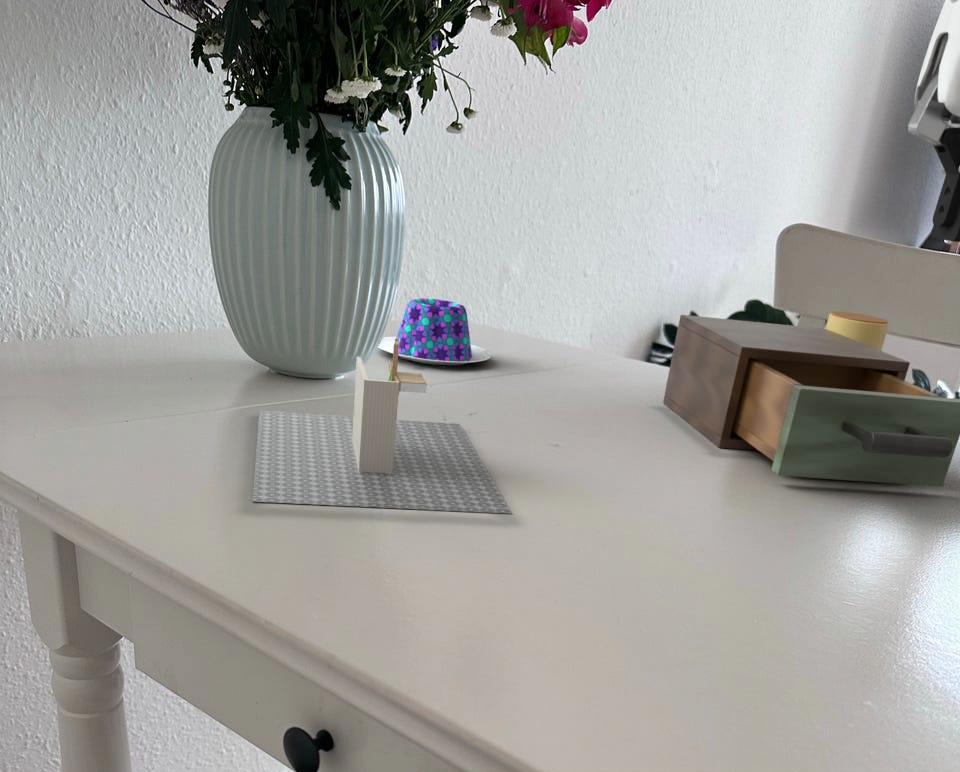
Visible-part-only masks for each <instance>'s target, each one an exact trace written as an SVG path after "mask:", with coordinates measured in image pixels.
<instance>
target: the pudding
mask: <svg viewBox="0 0 960 772" xmlns="http://www.w3.org/2000/svg"><path fill="white" fill-rule="evenodd" d="M382 338H383V339H382V341H381V343H380V344H379V346H378V347H377V348H378V349H380V350H383V351H384V352H387V353H390V354H392V355H393V349H394V344H395V338H397V339H398V343H399V352H398V358H401V359H405V360H408V361H411V362H415V363H422V364H428V365H429V364H430V365H437V366H438V365H439V366H461V365H466V364H473V363H480V362H484V361H487V360H489V359H491V358H492V356H493V355H492V353H491V352H490V351H488V350H487V349H485V348H483V347H480V346H477V345H474V344H471V336H470V328H469V320H468V312H467V310H466V307H465V306H464V305H463V304H461V303H457V302H454V301H450V300H444V299H443V300H442V299H439V298H423V297H422V298H421V297H420V298H413V299H411V300H409V301H408V303H407V304H406V306H405V310H404V312H403V315H402V319H401V323H400V325H399V329H398V331H397V334H396V335H394V336H385V337H382Z"/></svg>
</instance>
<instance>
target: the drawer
mask: <svg viewBox="0 0 960 772" xmlns="http://www.w3.org/2000/svg"><path fill="white" fill-rule="evenodd" d="M732 431H733V432H734V433H736V434H737V435H738V436H740V437H741V438H743V439H744V440H745V441H747V442H748V443H749V444H751V445H752V446H753V447H755V448H756V449H757V450H756V451H758V450H759V452H760V453H762V454H763V455H764V456H766V457H767V458H768V459H769V460H771V461H772V466H771V472H773V473H774V474H775V475H777V476H780V477H796V478H810V479H824V480H839V481H853V482H855V481H856V482H857V481H858V482H870V483H883V484H884V483H885V484H900V485H915V486H916V485H917V486H931V487H943V486H944V482H945V480H946V477H947V475H948V471H949V469H950V465H951V462H952V460H953V456H954V454H955V451H956V449H957V445H958V443H959V440H960V398H950V397H942V396H941V395H939V394H936V393H934V392H932V391H929V390H927V389H924V388H922V387H920V386H917V385H915V384H913V383H910V382H909V381H907V380H905V381H904V380H902V379H899V378H897V377H895V376H893V375H890V374H888V373H886V372H883V371H881V370H877V369H866V368H855V367H844V366H833V365H822V364H811V363H800V362H789V361H778V360H767V359H756V358H749V359H748V364H747V368H746V372H745V376H744V381H743V385H742V389H741V393H740V398H739V402H738V406H737V410H736V414H735V419H734V423H733V427H732Z"/></svg>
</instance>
